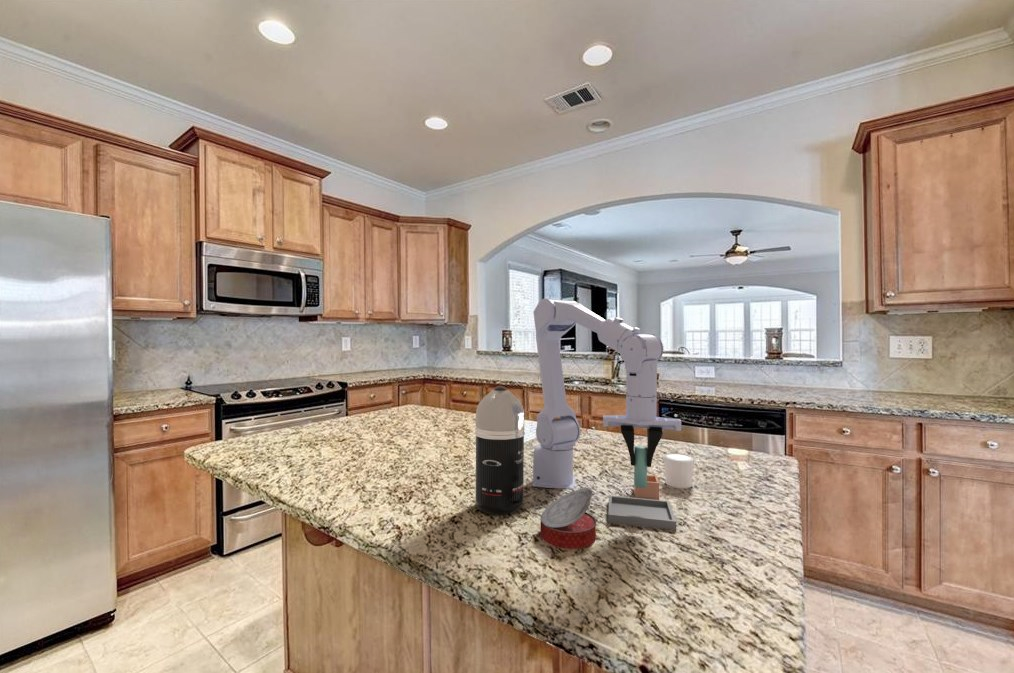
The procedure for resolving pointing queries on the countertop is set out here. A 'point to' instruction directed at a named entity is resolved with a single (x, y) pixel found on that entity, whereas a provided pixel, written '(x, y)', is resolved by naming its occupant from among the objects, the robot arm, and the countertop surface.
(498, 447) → the black bottle
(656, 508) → the tray
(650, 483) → the open box
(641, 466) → the pin
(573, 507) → the canned food
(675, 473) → the white short cylinder
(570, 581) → the countertop surface
